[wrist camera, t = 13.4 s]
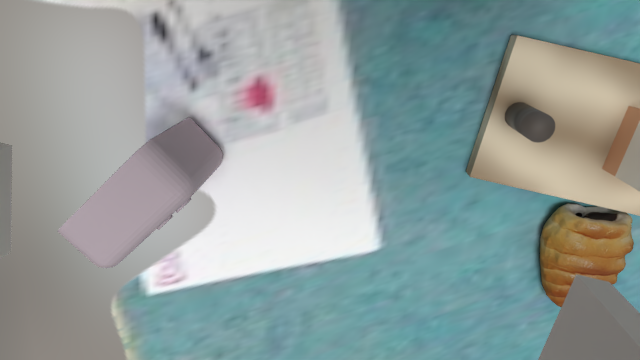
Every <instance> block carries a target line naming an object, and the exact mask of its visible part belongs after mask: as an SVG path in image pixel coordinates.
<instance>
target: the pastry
mask: <svg viewBox="0 0 640 360" xmlns="http://www.w3.org/2000/svg"><path fill="white" fill-rule="evenodd" d="M631 223H632V218H631V216H629V215H628V214H627V213H626V212H617V211H612V210H611V209H608V208H604V207H600V206H598V207H583V206H581V205H579V204H565V205H563V206H561V207H559V208H558V209H557V210H556V211H555V212H554V213H553V214H552V216H551V217H550V218H549V219H548V220H547V222H546V223H545V225H544V227H543V230H542V234H541V237H540V266H541V279H542V285H543V288H544V290H545V292H546V295H547V296H548V297H549V298H550V299H551V301H553V302H554V303H555V304H556V305H557V306H560V307H562V305H563V303H564V301H565V298H566V296H567V294H568V292H569V289H570V287H571V285H572V283H573V280H574V278H575V276H576V274H577V275H581V276H586V277H590V278H594V279H599V280H603V281H608V282H610V283H611V284H615V283H616V281H617V275H618V273H619V272H621V271H622V270H623V269H624V267H625V264H626V263H625V255H626V254H627V253H629V252H631V251H632V249H633V244H634V242H633V239H632V236H631Z"/></svg>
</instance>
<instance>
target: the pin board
mask: <svg viewBox="0 0 640 360" xmlns="http://www.w3.org/2000/svg"><path fill="white" fill-rule="evenodd" d="M628 106H632V107H636V108H640V63H635V62H631V61H627V60H622V59H618V58H614V57H609V56H605V55H601V54H596V53H592V52H587V51H583V50H579V49H574V48H570V47H566V46H561V45H557V44H553V43H548V42H544V41H540V40H535V39H531V38H527V37H522V36H518V35H511V37H510V40H509V43H508V46H507V49H506V52H505V55H504V58H503V61H502V64H501V67H500V70H499V73H498V76H497V79H496V82H495V85H494V88H493V91H492V94H491V97H490V100H489V103H488V106H487V109H486V112H485V115H484V118H483V121H482V124H481V127H480V130H479V133H478V136H477V139H476V142H475V145H474V148H473V151H472V154H471V157H470V160H469V163H468V166H467V169H466V172H467V174H468V175H469V176H470V177H473V178H477V179H482V180H486V181H490V182H495V183H499V184H503V185H508V186H512V187H517V188H521V189H525V190H530V191H534V192H538V193H543V194H547V195H551V196H556V197H560V198H565V199H569V200H573V201H578V202H582V203H586V204H591V205H595V206H600V207H604V208H608V209H613V210H617V211H621V212H626V213H630V214H634V215H639V216H640V191H638V190H636V189H635V188H633V187H631V186H630V185H628V184H626V183H625V182H623V181H621V180H620V179H618V178H616V177H615V176H613V175H611V174H610V173H608V172H606V171H605V170H603V169H602V167H603V165H604V162H605V160H606V158H607V155H608V153H609V151H610V148H611V146H612V144H613V141H614V139H615V137H616V134H617V132H618V130H619V127H620V125H621V123H622V120H623V118H624V116H625V113H626V111H627V109H628Z"/></svg>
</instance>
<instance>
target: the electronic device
mask: <svg viewBox="0 0 640 360" xmlns="http://www.w3.org/2000/svg"><path fill="white" fill-rule="evenodd" d="M222 158H223V155H222V151H221V149H220V148H219V147H218V146H217V145H216V144H215V143H214V142H213V141H212V139H211V138H210V137H209V136H208V135H207V134H206V133H205V132H204V131H203V130H202V129H201V128H200V127H199V126H198V125H197V124H196V123H195V122H194V121H193V120H192V119H191V118H190V117H188V118H187V119H185V120H183V121H181V122H180V123H178V124H176V125H175V126H173V127H171V128H169V129H168V130H166V131H164V132H163V133H161V134H159V135H157V136H156V137H154V138H152V139H151V140H150V141H148V142H147V143H146V144H145V145H143V146H142V147H141V148H140V149H139V150H138V151H136V152H135V153H134V154H133V155H132V156H131V157H130V158H129V159H128V160H127V161H126V162H125V163H124V164H123V165H122V166H121V167H120V168H119V169H118V170H117V171H116V172H115V173H114V174H113V175H112V176H111V177H110V178H109V179H108V180H107V181H106V182H105V183H104V184H103V185H102V186H101V187H100V188H99V189H98V190H97V191H96V192H95V193H94V194H93V195H92V196H91V197H90V198H89V199H88V200H87V201H86V202H85V203H84V204H83V205H82V206H81V207H80V208H79V209H78V210H77V211H76V212H75V213H74V214H73V215H72V216H71V217H70V218H69V219H68V220H67V221H66V222H65V223H64V224H63V225H62V226H61V227H60V229H59V230H58V232H59V233H60V234H61V235H62V236H63V237H65V238H66V239H67V240H68V241H69V242H70V243H71V244H72V245H74V246H75V247H76V248H77V249H78V250H79V251H80V252H81V253H82V254H84V255H85V256H86V257H87V258H88V259H89V260H90V261H91V262H92V263H94V264H95V265H96V266H98V267H101V268H110V267H113V266H116V265H117V264H118V263H120V262H121V261H122V260H123V259H124V258H125V257H126V256H127V255H128V254H130V253H131V252H132V251H133V250H134V249H135V248H136V247H137V246H138V245H139V244H140V243H141V242H143V241H144V239H146V238H147V237H148V236H149V235H150V234H151V233H152V232H153V231H155V230H156V229H160V228H161V227H162V226H163V225H165V224H166V223H167V222H168V221H169V220H170V219H171V218H172V214H173V213H174V212H175V211H176V212H179V211H180V210H181V209H182V208H183V207H184V206H185V205H186V204H187V203H188V202H189V201H190V200H191V198H190V197H191V196H192V195H193V194H194V192H196V191H197V190H198V189H199V187H200V186H201V185H202V184H203V183H204V182H205V181H206V180H207V179H208V178H209V177H210V176H211V175H212V173H213V172H214V171H215V170H216V169H217V168H218V167H219V166H220V164H221V162H222Z"/></svg>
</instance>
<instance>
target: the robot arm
mask: <svg viewBox="0 0 640 360" xmlns="http://www.w3.org/2000/svg"><path fill="white" fill-rule="evenodd" d="M11 190H12V145H8V144H4V143H0V259H1V258H3V257H4V256H6V255H7V254H9V253H10V252H11V194H12V192H11ZM538 360H640V313H639V312H638V311H637V310H636V309H635V308H634V307H633V306H632V305H631V304H630V303H629V302H628V301H627V300H626V299H625V298H624V297H623V296H622V295H621V294H620V293H619V292H618V291H617V289H616V288H615V287H614V286H613V285H612V284H611V283H610V282H608V281H603V280H599V279H594V278H590V277H586V276H581V275H577V274H576V276H575V278H574V280H573V283H572V285H571V287H570V289H569V292H568V294H567V296H566V298H565V301H564V303H563V305H562V307H561V310H560V312H559V314H558V316H557V319H556V321H555V323H554V326H553V328H552V330H551V332H550V335H549V337H548V339H547V341H546V344H545V346H544V348H543V350H542V353H541V355H540V357H539V359H538Z"/></svg>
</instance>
